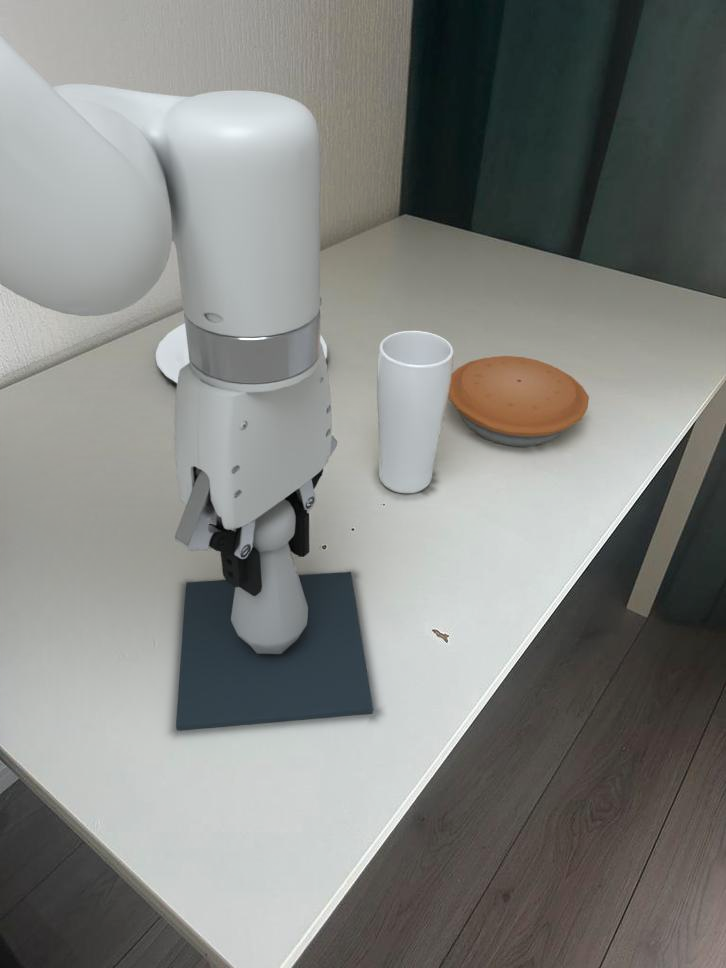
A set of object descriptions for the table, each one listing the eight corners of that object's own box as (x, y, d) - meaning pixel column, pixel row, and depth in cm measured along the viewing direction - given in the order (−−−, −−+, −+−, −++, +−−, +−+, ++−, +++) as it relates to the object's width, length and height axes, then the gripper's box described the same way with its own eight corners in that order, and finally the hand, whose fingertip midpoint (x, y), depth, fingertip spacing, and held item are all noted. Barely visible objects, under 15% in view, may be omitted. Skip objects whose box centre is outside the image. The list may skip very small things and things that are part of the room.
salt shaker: (305, 666, 58) (303, 538, 50) (229, 664, 58) (213, 535, 50) (310, 607, 62) (308, 481, 54) (239, 605, 62) (226, 479, 54)
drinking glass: (357, 479, 78) (362, 346, 68) (401, 451, 82) (411, 322, 72) (408, 510, 74) (421, 375, 65) (451, 479, 78) (470, 348, 69)
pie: (463, 371, 95) (468, 335, 92) (590, 400, 91) (600, 363, 88) (426, 438, 84) (430, 399, 81) (569, 474, 80) (579, 434, 77)
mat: (176, 730, 55) (175, 725, 54) (186, 587, 65) (185, 582, 65) (372, 713, 56) (372, 708, 56) (350, 576, 67) (350, 571, 67)
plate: (180, 421, 84) (178, 408, 83) (140, 336, 99) (138, 324, 98) (354, 386, 92) (354, 373, 90) (293, 311, 106) (293, 299, 105)
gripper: (302, 272, 51) (304, 487, 62) (89, 370, 40) (139, 608, 52) (394, 307, 47) (379, 528, 59) (187, 424, 37) (218, 666, 48)
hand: (267, 563), depth 55 cm, fingers closed on salt shaker, 4 cm apart
